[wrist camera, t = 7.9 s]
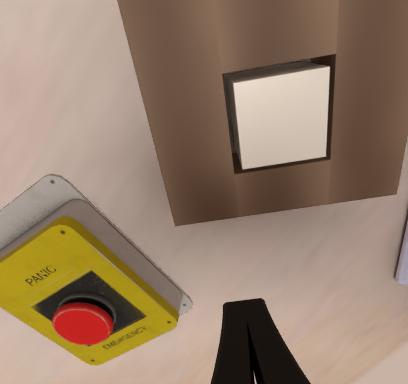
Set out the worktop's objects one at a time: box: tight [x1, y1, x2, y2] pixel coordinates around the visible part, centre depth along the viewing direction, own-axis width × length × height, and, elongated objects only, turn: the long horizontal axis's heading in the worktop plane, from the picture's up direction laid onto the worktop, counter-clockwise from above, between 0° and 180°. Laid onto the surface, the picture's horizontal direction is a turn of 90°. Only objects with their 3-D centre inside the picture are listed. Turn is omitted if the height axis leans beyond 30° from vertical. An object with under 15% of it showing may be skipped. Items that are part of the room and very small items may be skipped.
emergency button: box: [0, 174, 192, 365], centre depth 20 cm, size 9×4×15 cm
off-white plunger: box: [227, 61, 330, 169], centre depth 14 cm, size 4×4×3 cm
